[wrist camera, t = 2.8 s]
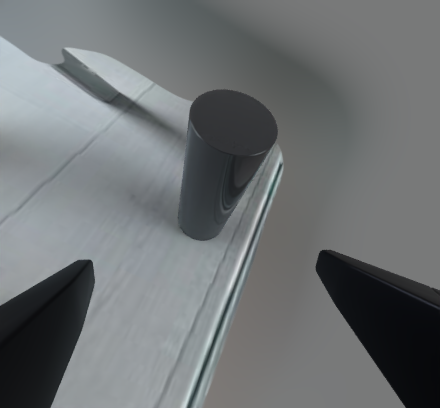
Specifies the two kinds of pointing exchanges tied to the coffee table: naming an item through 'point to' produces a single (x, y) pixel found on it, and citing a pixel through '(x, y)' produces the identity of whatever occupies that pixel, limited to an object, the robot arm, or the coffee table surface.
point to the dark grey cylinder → (221, 158)
